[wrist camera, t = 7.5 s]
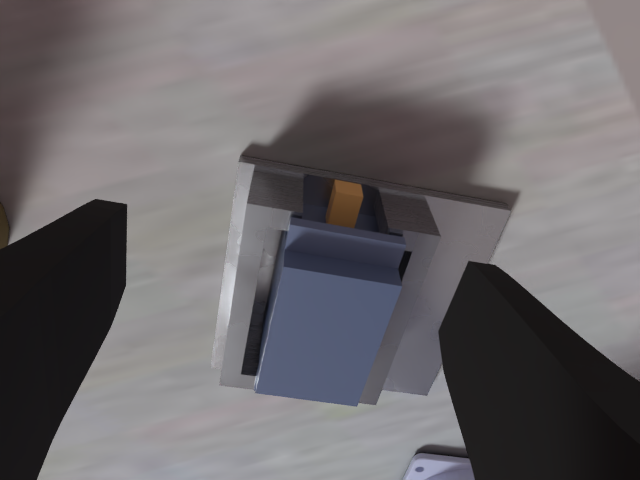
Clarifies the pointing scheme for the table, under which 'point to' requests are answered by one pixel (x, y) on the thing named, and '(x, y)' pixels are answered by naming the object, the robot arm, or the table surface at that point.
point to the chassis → (392, 218)
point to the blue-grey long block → (328, 302)
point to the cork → (3, 228)
